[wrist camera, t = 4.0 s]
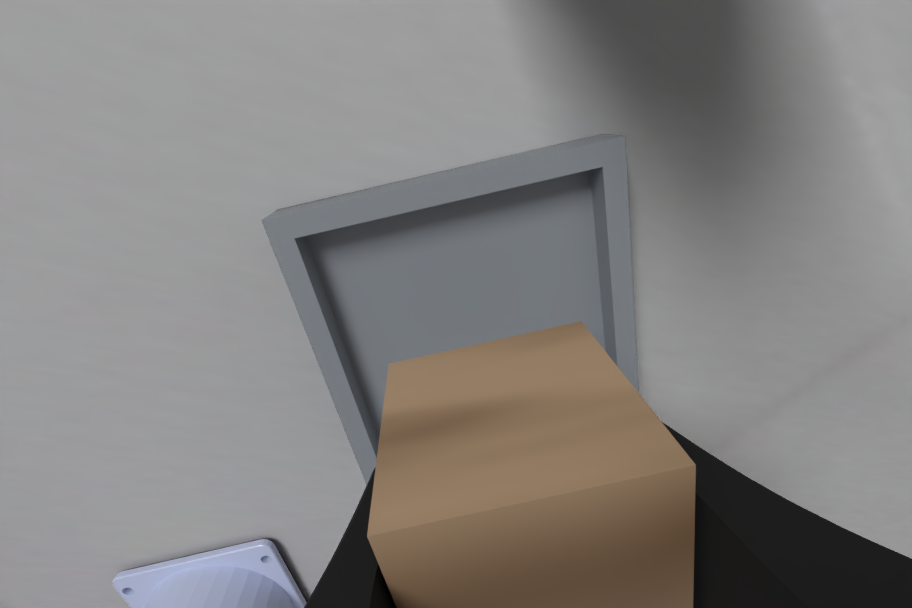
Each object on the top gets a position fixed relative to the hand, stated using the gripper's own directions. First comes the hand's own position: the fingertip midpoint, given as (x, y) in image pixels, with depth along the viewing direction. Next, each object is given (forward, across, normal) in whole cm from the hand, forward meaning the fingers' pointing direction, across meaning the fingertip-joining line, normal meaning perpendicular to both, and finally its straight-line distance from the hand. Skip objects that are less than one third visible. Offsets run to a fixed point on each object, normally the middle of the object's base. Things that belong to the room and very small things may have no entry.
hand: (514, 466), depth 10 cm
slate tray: (+8, 0, 0) cm, 8 cm away
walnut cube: (+2, 0, 0) cm, 2 cm away
